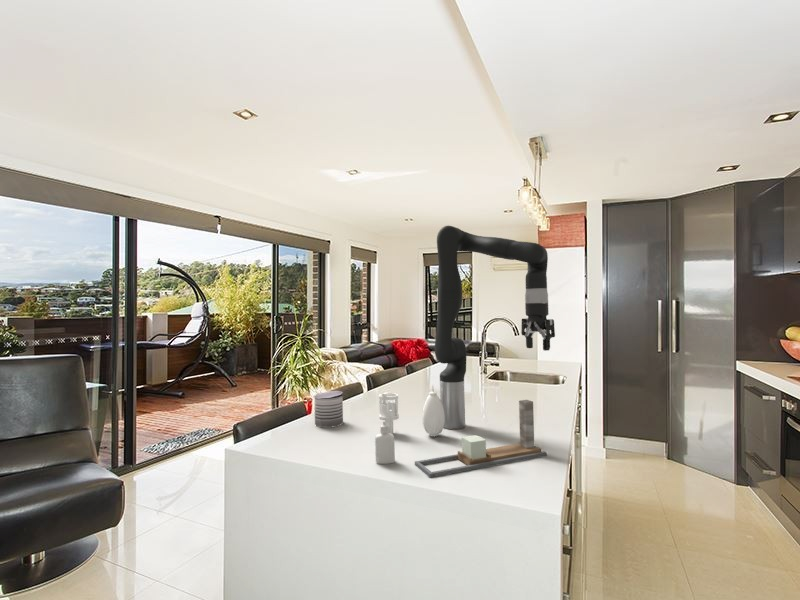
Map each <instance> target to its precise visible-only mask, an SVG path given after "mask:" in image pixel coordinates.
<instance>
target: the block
mask: <svg viewBox="0 0 800 600" xmlns="http://www.w3.org/2000/svg"><path fill="white" fill-rule="evenodd" d="M486 449H487V440H486V439H485V438H484V437H481V436H478V435H469V436H463V437H461V452H462V453H464V454H465V455H467V456H469V457H470V458H472V460H474V459H479V458H485V457H486Z"/></svg>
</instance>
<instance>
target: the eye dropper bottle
mask: <svg viewBox="0 0 800 600" xmlns="http://www.w3.org/2000/svg"><path fill="white" fill-rule="evenodd" d="M374 445H375V451H374V452H375V453H374V455H375V462H376V464H379V465H387V464H393V463H394V462H395V461H396V460H395V459H396V454H395V450H396V449H395V446H396V445H395V436H394V433H393V434H390V433H389V426H388V425H386V421H385V420H382V424H381V425H380V433H377V434H376V435H375V437H374Z"/></svg>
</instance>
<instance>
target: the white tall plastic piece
mask: <svg viewBox="0 0 800 600" xmlns="http://www.w3.org/2000/svg"><path fill="white" fill-rule="evenodd" d="M378 399H379V415H378V416H379V417H378V418H379V420H381V421H386V425H388V426H389V433H390V434H393V435H394V432H395V431H394V421H397V420H399V419H400V416H399V415H400V414H399V401H398V400H399V394H398V393H395V392H387V391H385V392H384V393H380V394H378Z"/></svg>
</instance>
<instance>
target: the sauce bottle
mask: <svg viewBox="0 0 800 600" xmlns="http://www.w3.org/2000/svg"><path fill="white" fill-rule="evenodd" d="M431 388H432V389H431V391H429V393H428V394H429V395H428V396H427V398H426V399H425V403H424V404H423V409H422V426H423V428H424V431H425V432H426V434H428V436H431V437H432V436H434V437H433V438H436V437H437V436H439V435H440V434H441V433H442V432H443V430H444V428H443V427H444V423H445V414H444V409H443V406H442V403H441V401H440V396H438V395H437V394H438V393H437V392H436V391H434V390H435V389H434V385H433V384H432V386H431ZM435 436H436V437H435Z"/></svg>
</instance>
